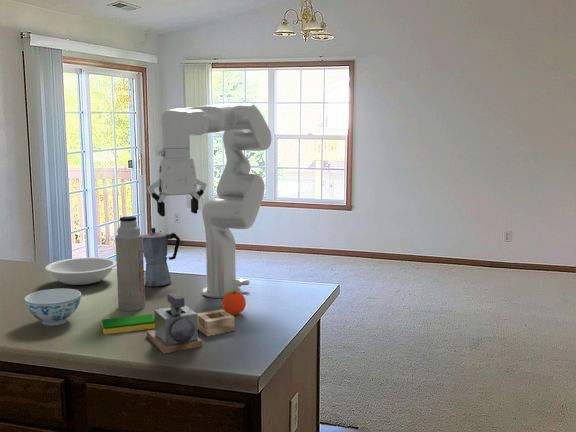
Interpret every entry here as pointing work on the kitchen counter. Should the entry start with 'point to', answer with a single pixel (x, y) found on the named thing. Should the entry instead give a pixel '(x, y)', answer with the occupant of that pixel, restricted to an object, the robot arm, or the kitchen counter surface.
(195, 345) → the board
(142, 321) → the dish sponge
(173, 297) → the chuck key
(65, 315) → the chinaware
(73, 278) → the soup bowl
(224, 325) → the wooden square frame
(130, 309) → the thermos bottle
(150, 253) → the moka pot
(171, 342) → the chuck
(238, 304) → the clementine
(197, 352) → the kitchen counter surface
